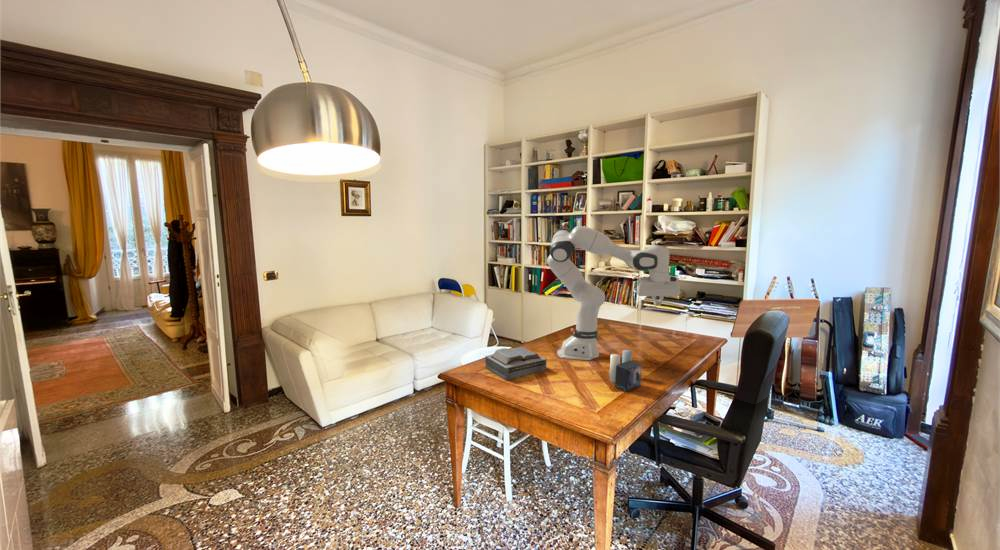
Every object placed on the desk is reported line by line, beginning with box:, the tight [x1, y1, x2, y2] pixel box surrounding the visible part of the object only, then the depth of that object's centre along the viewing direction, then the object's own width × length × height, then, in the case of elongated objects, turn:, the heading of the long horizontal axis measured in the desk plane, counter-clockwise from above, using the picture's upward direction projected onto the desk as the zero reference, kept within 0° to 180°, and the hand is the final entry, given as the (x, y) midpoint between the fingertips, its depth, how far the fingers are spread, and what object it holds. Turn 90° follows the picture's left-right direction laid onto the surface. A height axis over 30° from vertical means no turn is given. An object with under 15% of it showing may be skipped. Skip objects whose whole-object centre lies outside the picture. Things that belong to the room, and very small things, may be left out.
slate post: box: [621, 349, 633, 363], centre depth 187 cm, size 4×4×12 cm
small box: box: [614, 360, 643, 393], centre depth 174 cm, size 11×6×10 cm, turn 127°
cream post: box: [609, 353, 621, 383], centre depth 182 cm, size 4×4×12 cm
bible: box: [485, 346, 548, 381], centre depth 197 cm, size 23×27×10 cm
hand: (657, 304), depth 198 cm, fingers closed
